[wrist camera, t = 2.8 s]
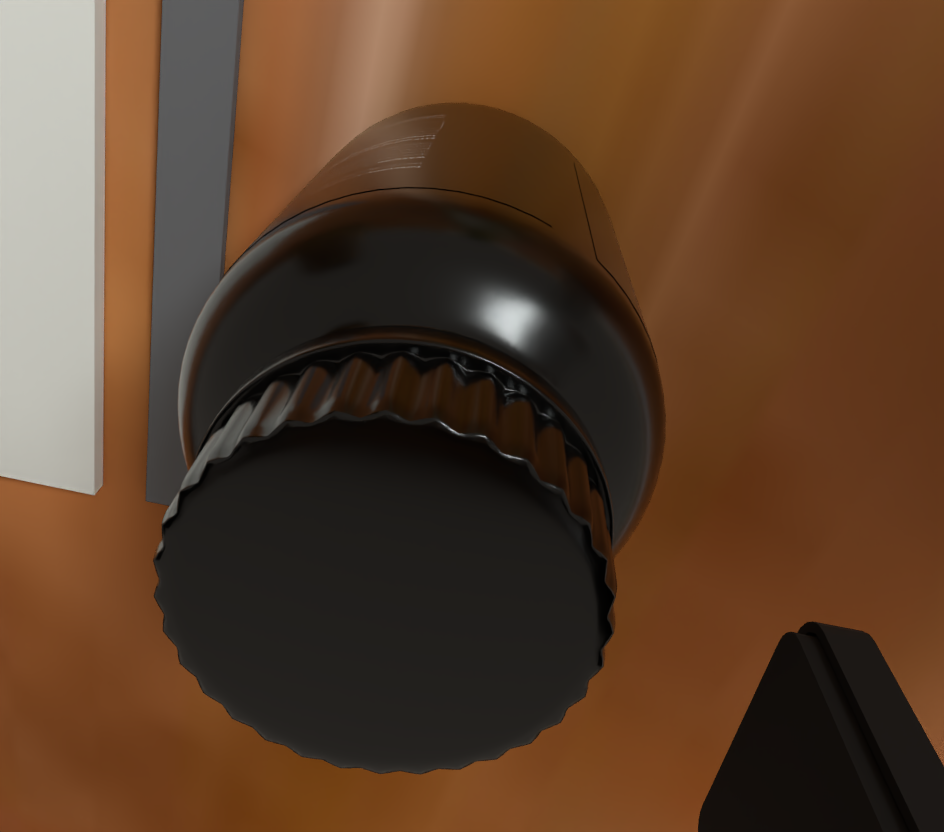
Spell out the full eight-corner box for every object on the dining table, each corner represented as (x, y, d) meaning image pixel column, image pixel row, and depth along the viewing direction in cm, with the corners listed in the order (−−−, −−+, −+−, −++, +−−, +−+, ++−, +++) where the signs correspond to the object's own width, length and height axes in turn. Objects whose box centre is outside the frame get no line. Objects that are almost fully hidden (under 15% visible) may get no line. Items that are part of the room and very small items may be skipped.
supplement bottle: (305, 378, 21) (69, 800, 10) (312, 78, 18) (-19, 240, 7) (588, 414, 21) (642, 874, 10) (645, 120, 18) (807, 344, 7)
